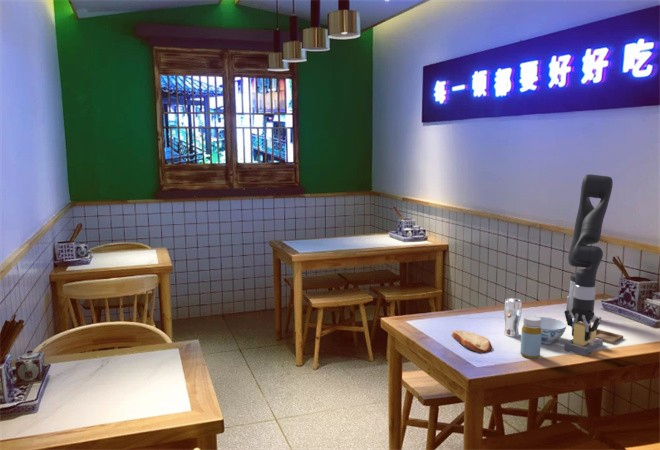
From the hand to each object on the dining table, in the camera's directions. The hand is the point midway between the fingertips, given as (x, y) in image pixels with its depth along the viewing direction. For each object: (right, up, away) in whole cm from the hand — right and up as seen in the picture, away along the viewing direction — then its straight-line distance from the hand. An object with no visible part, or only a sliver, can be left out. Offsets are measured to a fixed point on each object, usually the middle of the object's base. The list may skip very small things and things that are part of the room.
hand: (580, 338), depth 210 cm
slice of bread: (-41, -4, +9) cm, 42 cm away
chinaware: (-9, -3, +11) cm, 15 cm away
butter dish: (+3, -4, +3) cm, 6 cm away
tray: (+16, -3, +13) cm, 20 cm away
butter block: (0, -2, 0) cm, 2 cm away
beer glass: (-21, -2, +18) cm, 28 cm away
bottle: (-21, -6, -4) cm, 22 cm away
